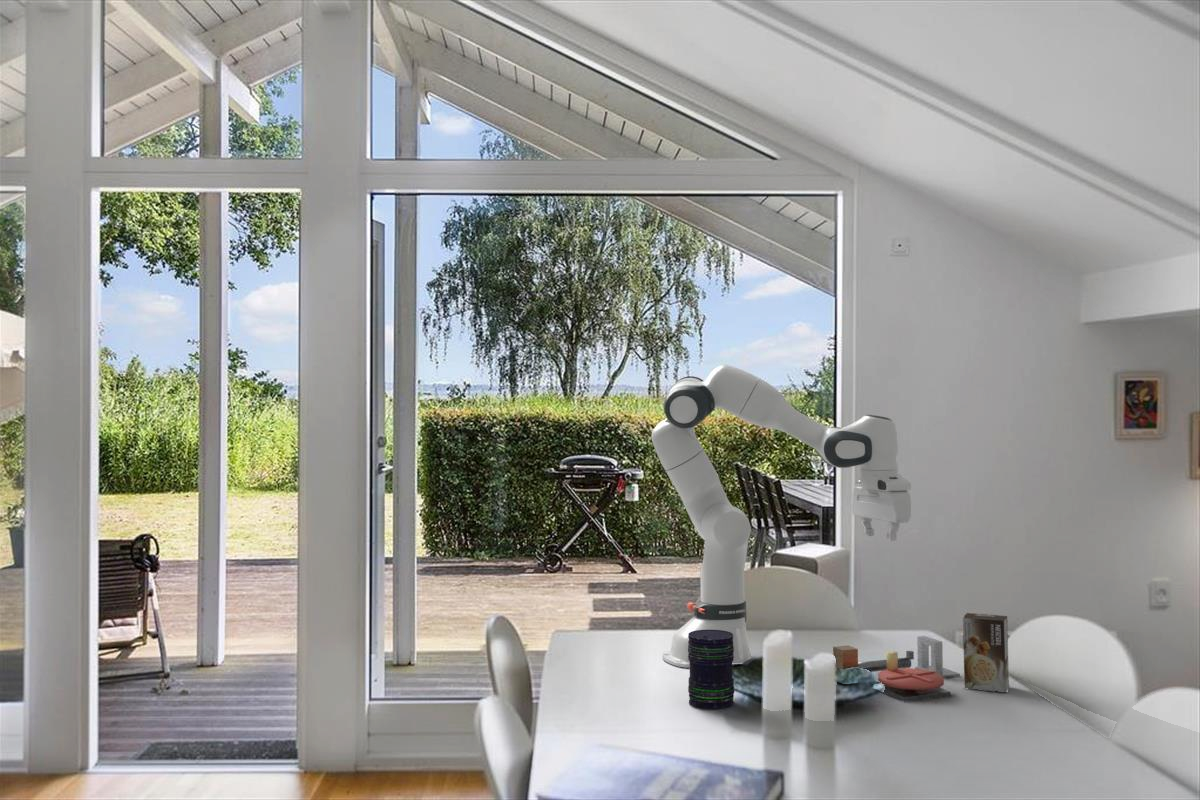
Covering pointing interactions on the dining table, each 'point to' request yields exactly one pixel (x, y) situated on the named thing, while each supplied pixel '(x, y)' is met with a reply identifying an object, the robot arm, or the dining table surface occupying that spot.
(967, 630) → the coffee box
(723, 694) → the storage jar
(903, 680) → the handwheel
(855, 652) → the hook
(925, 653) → the eye bracket
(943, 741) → the dining table surface
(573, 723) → the dining table surface
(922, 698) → the wheel base
